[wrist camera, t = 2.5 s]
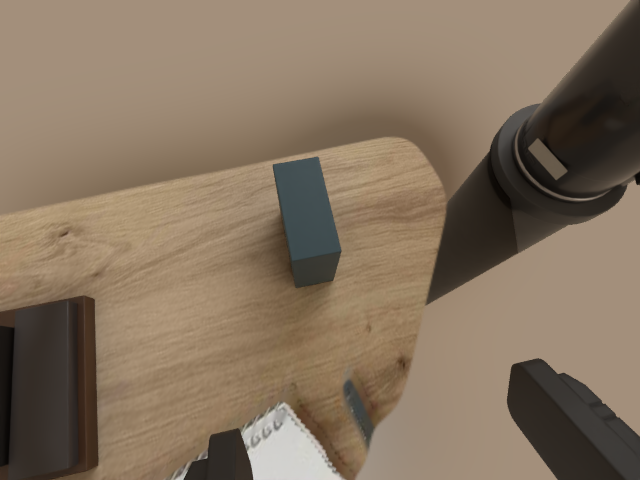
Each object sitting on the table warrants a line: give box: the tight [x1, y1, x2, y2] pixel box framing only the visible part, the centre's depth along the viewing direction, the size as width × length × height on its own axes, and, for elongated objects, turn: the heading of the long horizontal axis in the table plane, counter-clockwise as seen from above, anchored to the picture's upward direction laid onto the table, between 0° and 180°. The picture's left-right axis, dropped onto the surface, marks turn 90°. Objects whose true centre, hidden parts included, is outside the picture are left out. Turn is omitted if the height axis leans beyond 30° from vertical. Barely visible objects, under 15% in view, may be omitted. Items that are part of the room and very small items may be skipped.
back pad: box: [273, 157, 341, 288], centre depth 29 cm, size 3×7×8 cm, turn 12°
